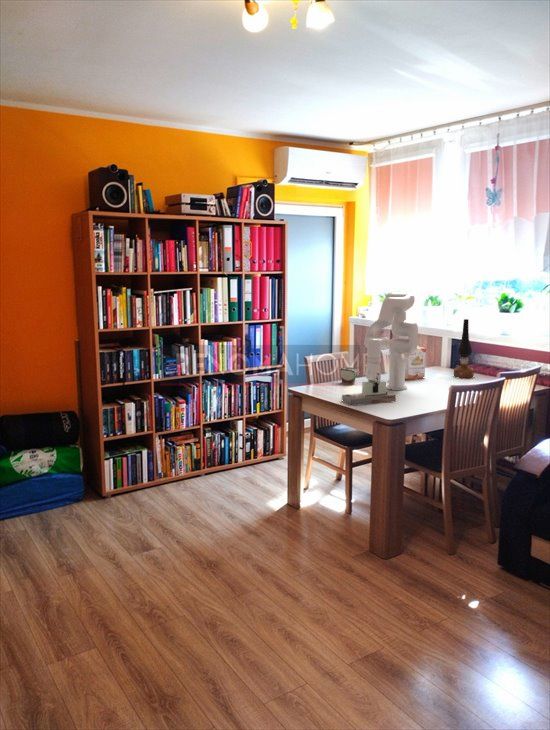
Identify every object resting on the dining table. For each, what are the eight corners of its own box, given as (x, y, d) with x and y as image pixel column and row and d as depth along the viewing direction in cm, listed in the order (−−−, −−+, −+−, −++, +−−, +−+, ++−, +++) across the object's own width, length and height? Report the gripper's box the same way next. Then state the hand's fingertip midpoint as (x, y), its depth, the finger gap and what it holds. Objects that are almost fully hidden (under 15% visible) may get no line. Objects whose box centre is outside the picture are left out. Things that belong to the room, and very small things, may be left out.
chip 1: (355, 400, 336) (348, 401, 334) (355, 393, 335) (348, 394, 334) (358, 402, 332) (351, 402, 331) (358, 395, 331) (352, 395, 330)
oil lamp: (475, 383, 399) (491, 326, 388) (453, 379, 399) (469, 322, 387) (469, 376, 412) (485, 321, 401) (448, 373, 412) (463, 317, 400)
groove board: (363, 399, 341) (363, 393, 340) (386, 397, 345) (386, 391, 345) (371, 403, 330) (372, 397, 330) (395, 401, 335) (395, 395, 334)
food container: (360, 383, 384) (360, 368, 382) (354, 385, 380) (354, 369, 378) (346, 381, 393) (346, 366, 391) (340, 382, 389) (340, 367, 387)
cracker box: (408, 380, 394) (409, 349, 391) (402, 378, 400) (403, 348, 396) (425, 378, 400) (426, 347, 396) (419, 376, 405) (420, 346, 402)
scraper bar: (362, 394, 336) (362, 382, 335) (382, 392, 340) (382, 380, 339) (365, 395, 333) (365, 383, 331) (385, 393, 337) (386, 381, 335)
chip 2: (355, 400, 335) (355, 393, 335) (361, 400, 337) (362, 393, 336) (358, 402, 332) (358, 395, 331) (365, 401, 333) (365, 394, 332)
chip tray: (342, 400, 337) (342, 394, 337) (362, 399, 341) (362, 393, 340) (351, 405, 326) (351, 399, 325) (371, 403, 330) (371, 397, 329)
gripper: (361, 358, 339) (360, 389, 343) (374, 363, 324) (374, 395, 327) (372, 357, 342) (372, 388, 345) (387, 362, 326) (386, 394, 330)
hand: (373, 391), depth 336 cm, fingers closed on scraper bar, 4 cm apart
